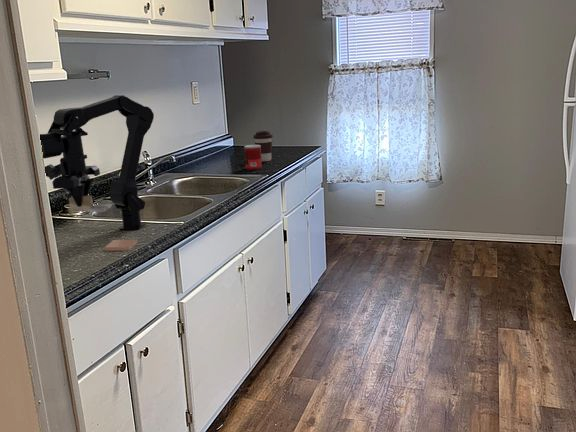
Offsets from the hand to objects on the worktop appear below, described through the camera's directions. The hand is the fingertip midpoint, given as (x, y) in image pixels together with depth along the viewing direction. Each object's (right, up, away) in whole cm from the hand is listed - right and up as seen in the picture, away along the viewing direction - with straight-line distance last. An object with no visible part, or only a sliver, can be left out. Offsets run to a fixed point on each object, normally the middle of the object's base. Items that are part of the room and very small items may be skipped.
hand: (81, 205), depth 173 cm
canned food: (+45, +20, +111) cm, 121 cm away
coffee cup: (+49, +26, +132) cm, 143 cm away
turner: (+3, -1, 0) cm, 3 cm away
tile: (+9, -12, -4) cm, 16 cm away
